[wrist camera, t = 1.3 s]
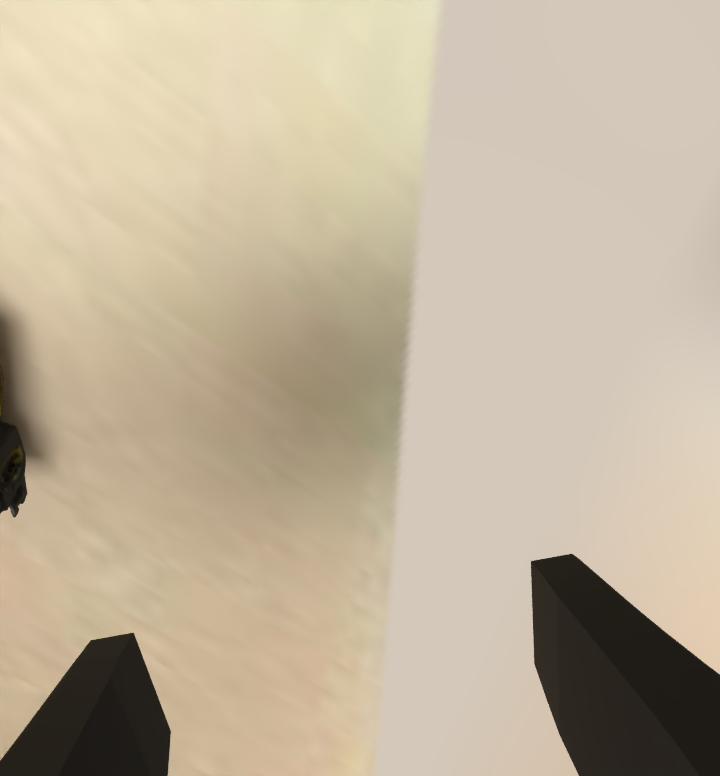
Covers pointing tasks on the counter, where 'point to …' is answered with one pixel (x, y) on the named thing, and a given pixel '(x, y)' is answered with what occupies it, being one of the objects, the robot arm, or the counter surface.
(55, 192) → the counter surface
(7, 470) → the tape measure
